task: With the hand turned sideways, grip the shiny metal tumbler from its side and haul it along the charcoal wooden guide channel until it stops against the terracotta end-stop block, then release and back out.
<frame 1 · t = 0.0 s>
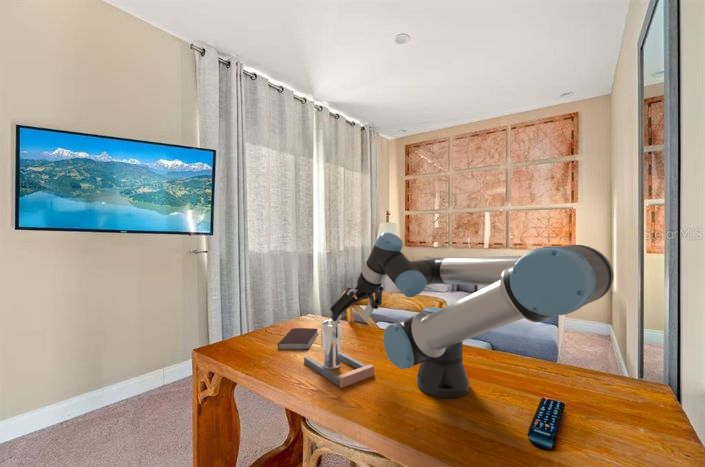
hand: (348, 322, 112), 15 cm above the table, tool tilted 35°, fingers open, 13 cm apart
book: (299, 342, 137), on the table
shiny metal tumbler: (331, 366, 113), resting in guide channel
guide channel: (338, 369, 109), on the table
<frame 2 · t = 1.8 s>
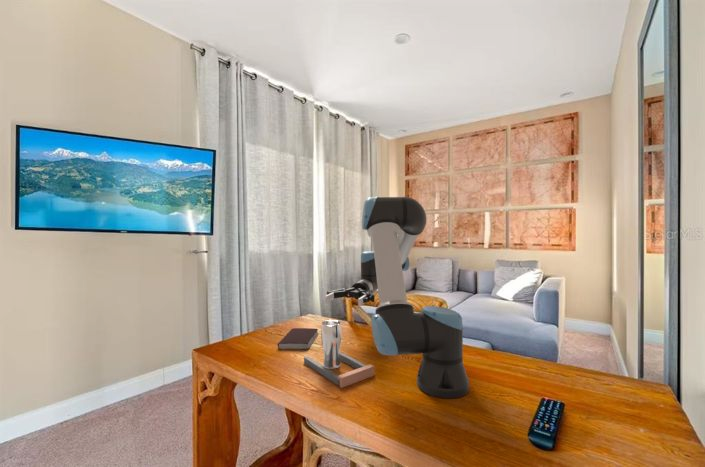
hand: (342, 301, 121), 20 cm above the table, tool horizontal, fingers open, 13 cm apart
nothing on the table moved.
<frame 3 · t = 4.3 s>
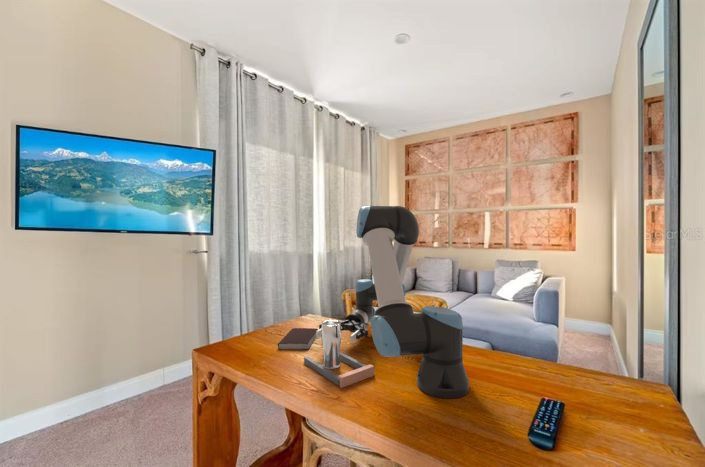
hand: (333, 337, 115), 9 cm above the table, tool horizontal, fingers open, 13 cm apart
nothing on the table moved.
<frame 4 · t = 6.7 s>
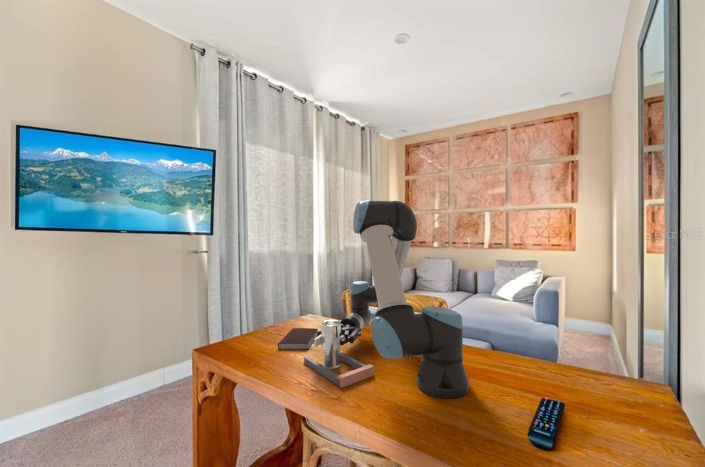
hand: (324, 344, 108), 9 cm above the table, tool horizontal, fingers closed on shiny metal tumbler, 7 cm apart
shiny metal tumbler: (331, 365, 113), resting in guide channel, touching gripper
everything else where it was.
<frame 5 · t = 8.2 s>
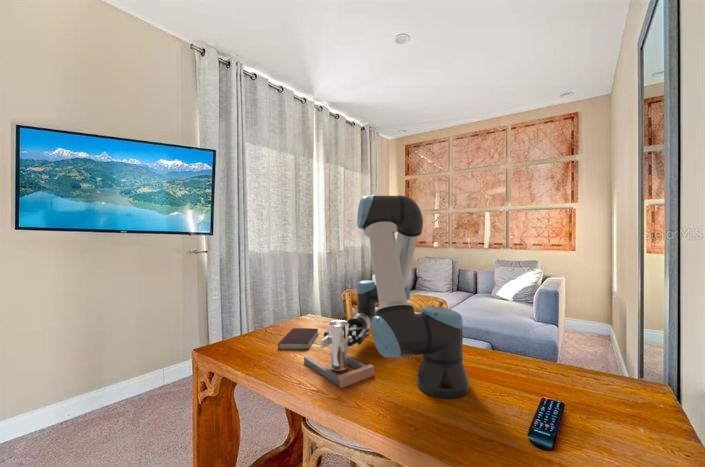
hand: (332, 345, 105), 10 cm above the table, tool horizontal, fingers closed on shiny metal tumbler, 7 cm apart
shiny metal tumbler: (339, 367, 109), point 1 cm above the table, touching gripper
everything else where it was.
when the fingers open (9 cm above the table, at t = 9.8 s): shiny metal tumbler stays where it is, resting in guide channel.
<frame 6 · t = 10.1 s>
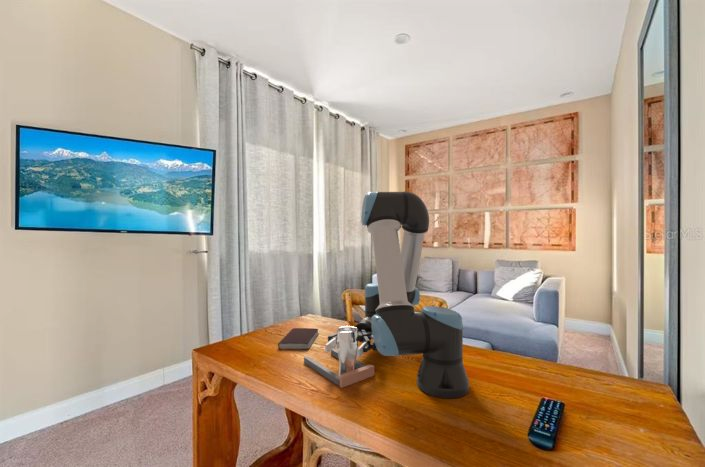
hand: (341, 351, 101), 9 cm above the table, tool horizontal, fingers open, 10 cm apart
shiny metal tumbler: (347, 375, 105), resting in guide channel
everything else where it was.
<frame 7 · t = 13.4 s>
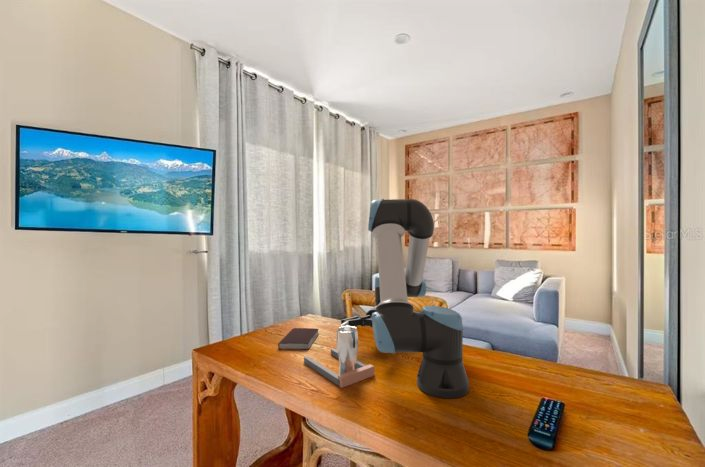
hand: (358, 331, 114), 11 cm above the table, tool horizontal, fingers open, 13 cm apart
nothing on the table moved.
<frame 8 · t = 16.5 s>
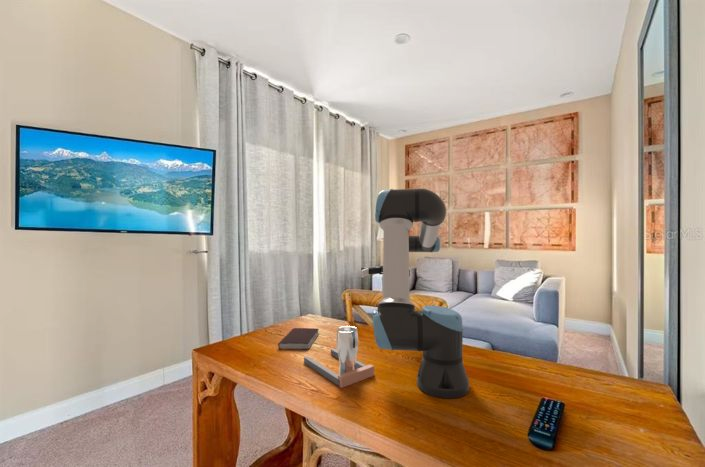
hand: (378, 274, 122), 30 cm above the table, tool horizontal, fingers open, 13 cm apart
nothing on the table moved.
at the end: shiny metal tumbler 0.2 cm from the target spot, resting in guide channel; shiny metal tumbler tilted 0°; the gripper is holding nothing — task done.
